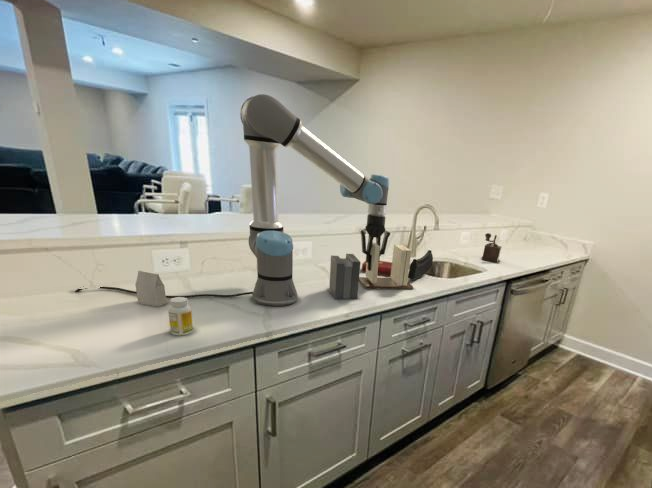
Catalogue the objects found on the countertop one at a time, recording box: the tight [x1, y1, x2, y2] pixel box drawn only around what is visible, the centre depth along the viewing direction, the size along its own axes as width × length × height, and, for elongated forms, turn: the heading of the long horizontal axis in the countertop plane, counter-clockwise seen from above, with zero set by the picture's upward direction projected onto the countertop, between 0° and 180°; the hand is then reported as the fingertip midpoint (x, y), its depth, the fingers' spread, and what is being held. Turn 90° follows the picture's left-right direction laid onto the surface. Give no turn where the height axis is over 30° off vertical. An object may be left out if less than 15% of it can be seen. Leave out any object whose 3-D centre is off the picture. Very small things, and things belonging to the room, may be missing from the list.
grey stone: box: [134, 270, 167, 307], centre depth 119 cm, size 4×7×10 cm, turn 79°
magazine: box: [408, 249, 434, 280], centre depth 193 cm, size 17×3×30 cm
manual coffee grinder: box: [481, 232, 502, 264], centre depth 250 cm, size 16×11×18 cm
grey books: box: [328, 253, 361, 300], centre depth 151 cm, size 9×12×15 cm
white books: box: [389, 243, 412, 286], centre depth 172 cm, size 4×11×16 cm, turn 22°
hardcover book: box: [361, 260, 392, 277], centre depth 191 cm, size 12×21×4 cm, turn 84°
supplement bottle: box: [167, 297, 194, 336], centre depth 105 cm, size 5×5×10 cm
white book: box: [365, 240, 381, 283], centre depth 166 cm, size 2×11×16 cm, turn 22°
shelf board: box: [359, 276, 414, 290], centre depth 173 cm, size 22×13×1 cm, turn 112°
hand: (371, 269), depth 168 cm, fingers closed on white book, 2 cm apart
